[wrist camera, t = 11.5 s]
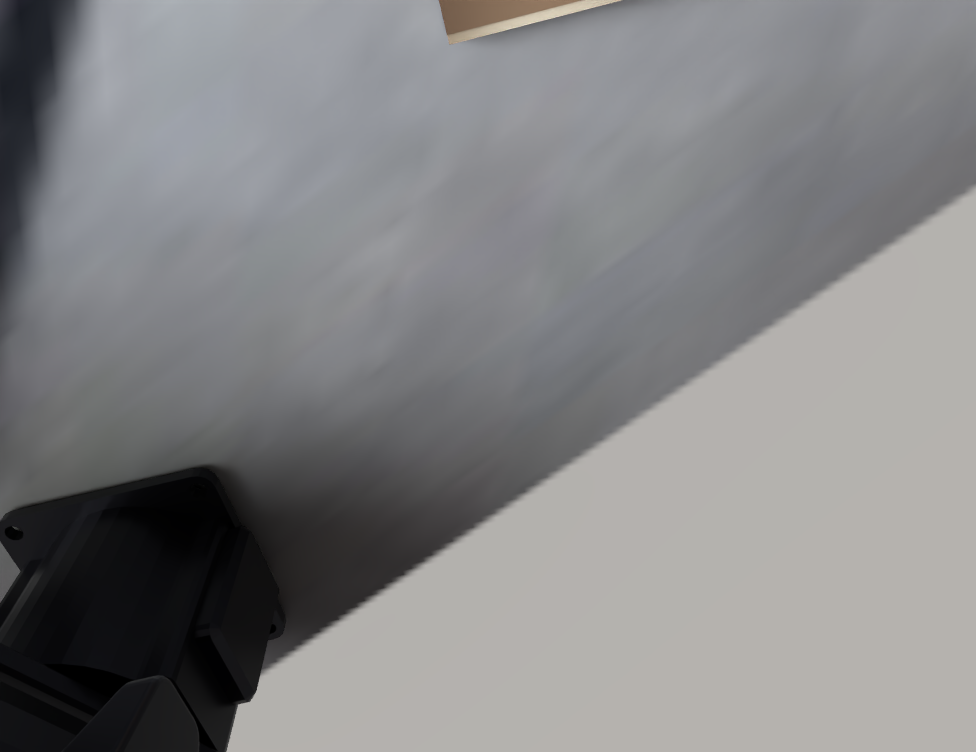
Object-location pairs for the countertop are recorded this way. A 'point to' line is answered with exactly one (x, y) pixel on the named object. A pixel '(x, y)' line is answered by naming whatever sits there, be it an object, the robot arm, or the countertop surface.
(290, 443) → the countertop surface
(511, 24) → the board
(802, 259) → the countertop surface
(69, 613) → the robot arm
